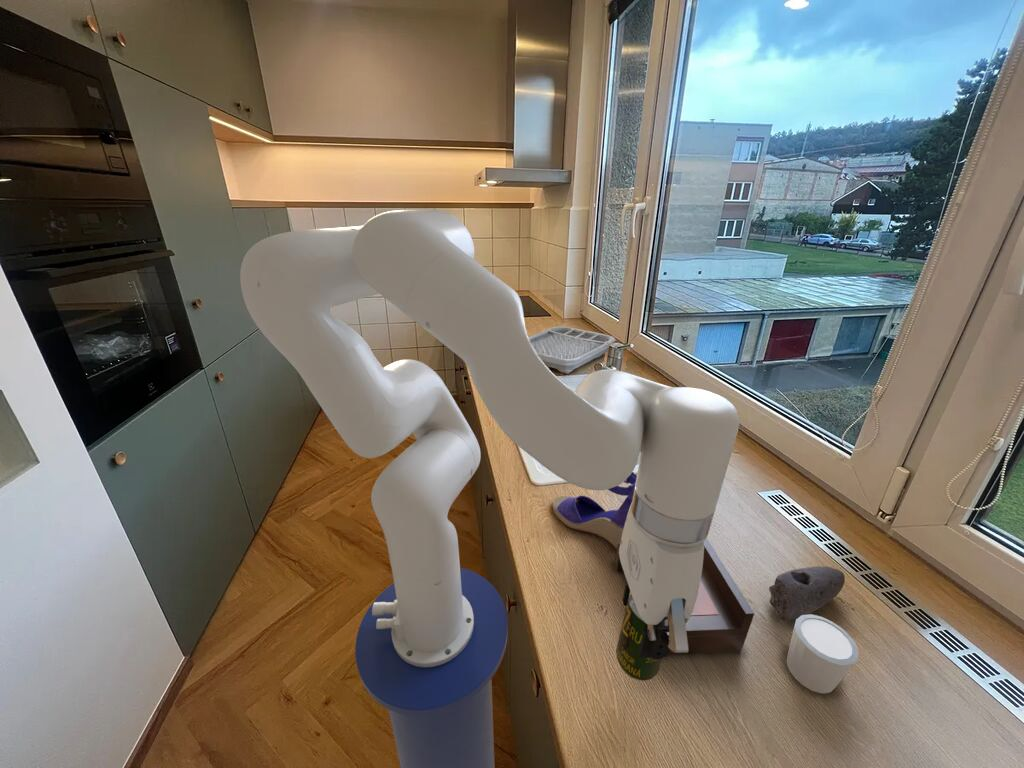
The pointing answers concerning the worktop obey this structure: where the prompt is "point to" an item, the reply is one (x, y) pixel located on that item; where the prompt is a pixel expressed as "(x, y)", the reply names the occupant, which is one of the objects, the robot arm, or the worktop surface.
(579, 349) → the dish rack
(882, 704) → the worktop surface
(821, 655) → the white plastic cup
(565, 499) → the sandal
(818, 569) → the perforated stone tool
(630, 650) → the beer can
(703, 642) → the shelf
